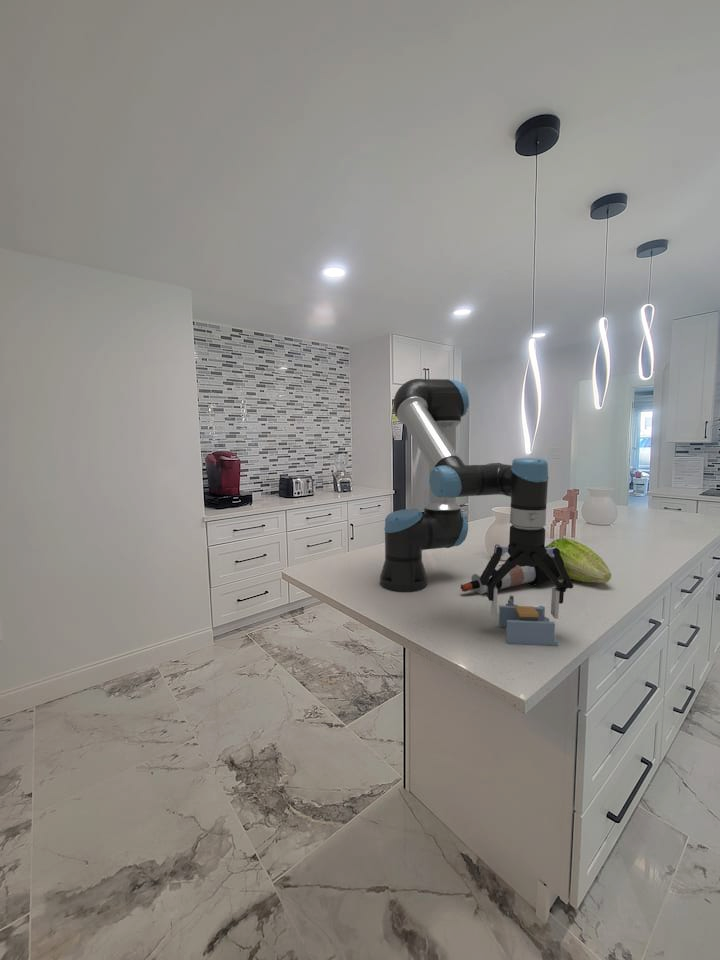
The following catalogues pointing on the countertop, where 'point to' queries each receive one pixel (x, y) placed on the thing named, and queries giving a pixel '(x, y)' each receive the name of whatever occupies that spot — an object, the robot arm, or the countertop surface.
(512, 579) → the cable
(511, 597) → the clip
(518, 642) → the holder
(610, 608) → the countertop surface
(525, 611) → the block
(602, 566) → the lettuce
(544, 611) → the clip
